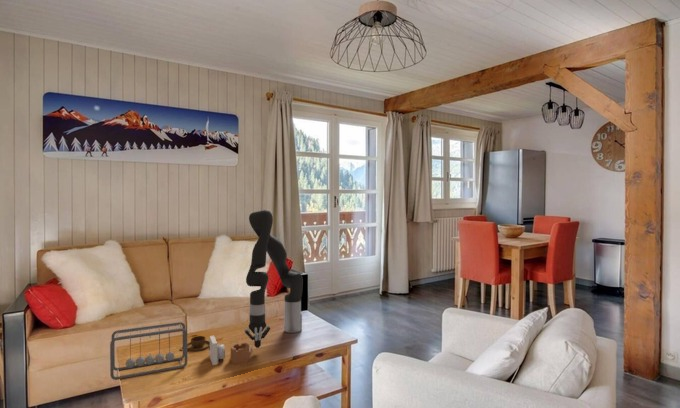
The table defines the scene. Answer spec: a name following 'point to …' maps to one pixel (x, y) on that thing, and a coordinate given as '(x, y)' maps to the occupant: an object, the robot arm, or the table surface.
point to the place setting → (197, 343)
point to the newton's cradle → (150, 359)
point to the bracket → (240, 353)
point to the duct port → (216, 351)
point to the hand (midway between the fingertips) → (257, 347)
